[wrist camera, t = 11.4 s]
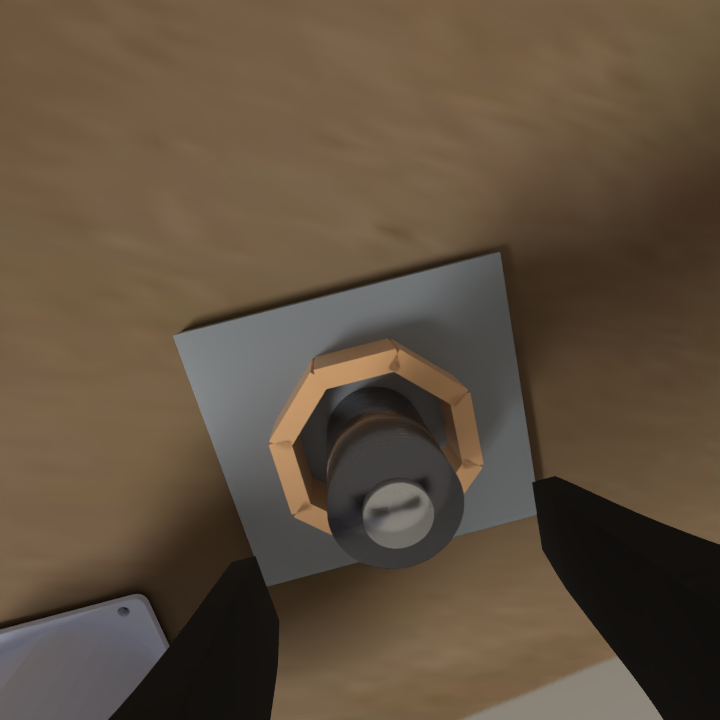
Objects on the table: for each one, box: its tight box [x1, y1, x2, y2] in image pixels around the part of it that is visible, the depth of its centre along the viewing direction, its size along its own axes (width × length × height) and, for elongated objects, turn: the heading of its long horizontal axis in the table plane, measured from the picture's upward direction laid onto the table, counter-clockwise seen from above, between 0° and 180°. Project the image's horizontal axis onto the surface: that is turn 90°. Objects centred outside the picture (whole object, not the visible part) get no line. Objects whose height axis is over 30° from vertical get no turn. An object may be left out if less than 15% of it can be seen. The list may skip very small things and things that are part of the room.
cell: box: [327, 387, 464, 569], centre depth 14 cm, size 4×4×6 cm
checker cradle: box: [173, 252, 537, 587], centre depth 17 cm, size 13×12×3 cm
